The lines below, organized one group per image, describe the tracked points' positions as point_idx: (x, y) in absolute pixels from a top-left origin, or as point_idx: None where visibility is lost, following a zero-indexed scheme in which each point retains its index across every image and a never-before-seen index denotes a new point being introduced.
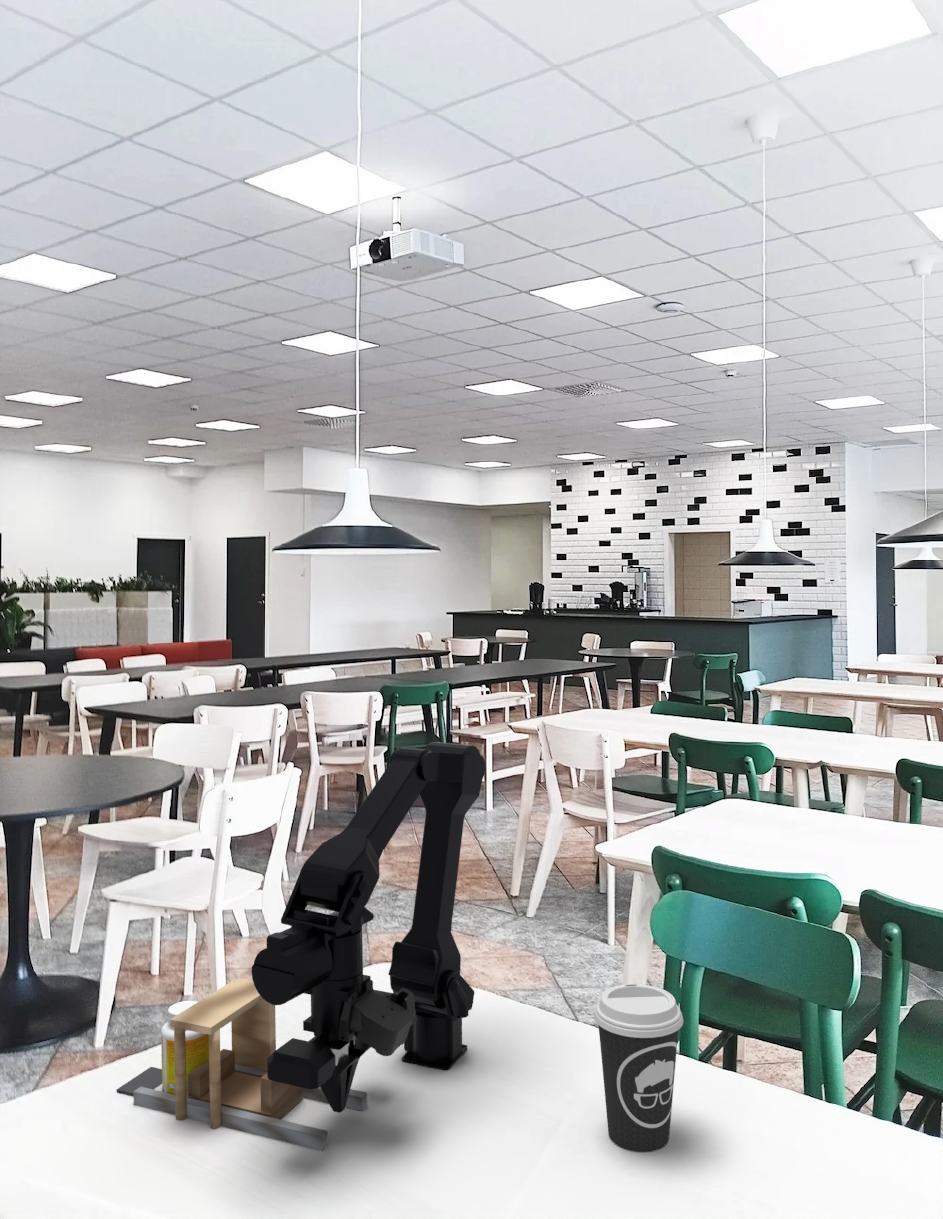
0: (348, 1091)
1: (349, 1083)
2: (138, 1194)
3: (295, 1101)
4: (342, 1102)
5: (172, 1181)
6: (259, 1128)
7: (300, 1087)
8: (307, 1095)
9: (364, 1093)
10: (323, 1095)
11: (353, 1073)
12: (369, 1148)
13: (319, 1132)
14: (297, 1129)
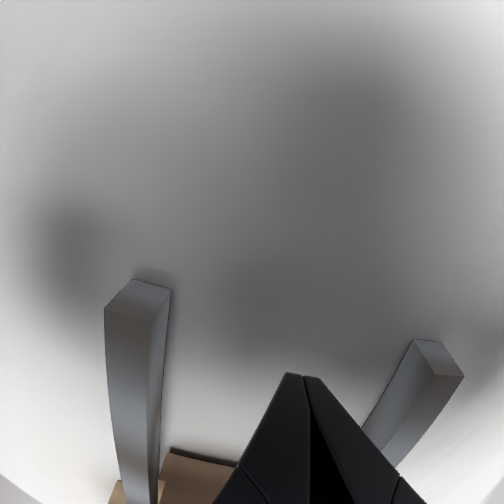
0: (285, 422)
1: (289, 459)
2: (471, 498)
3: (200, 470)
4: (329, 405)
5: (457, 492)
6: None
7: (169, 485)
8: (155, 450)
9: (114, 316)
10: (152, 427)
11: (251, 499)
12: (419, 193)
13: (438, 392)
14: (408, 445)
